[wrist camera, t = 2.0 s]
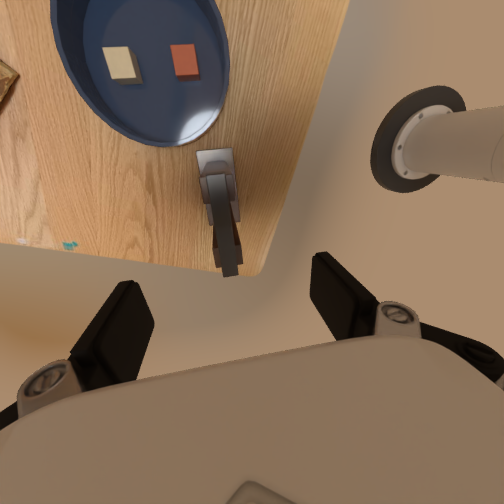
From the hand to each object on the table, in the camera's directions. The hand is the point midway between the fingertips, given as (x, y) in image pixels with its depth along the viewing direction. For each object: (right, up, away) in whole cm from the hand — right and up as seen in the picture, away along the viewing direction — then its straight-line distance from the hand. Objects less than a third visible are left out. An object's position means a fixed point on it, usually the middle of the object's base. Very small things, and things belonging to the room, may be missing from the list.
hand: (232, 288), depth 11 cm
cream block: (-16, +27, +17) cm, 36 cm away
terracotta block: (-8, +28, +18) cm, 34 cm away
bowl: (-12, +28, +18) cm, 35 cm away
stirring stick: (-2, +5, +9) cm, 10 cm away
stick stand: (-5, +14, +27) cm, 30 cm away
